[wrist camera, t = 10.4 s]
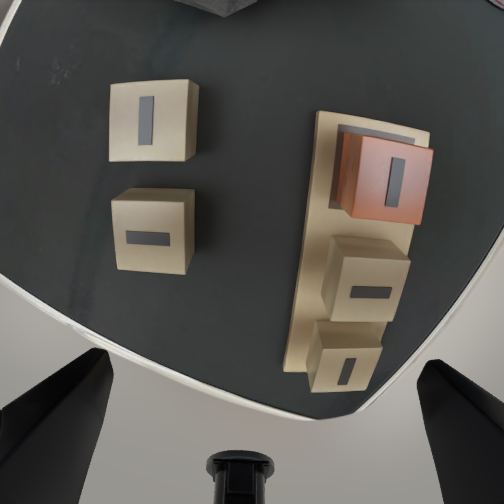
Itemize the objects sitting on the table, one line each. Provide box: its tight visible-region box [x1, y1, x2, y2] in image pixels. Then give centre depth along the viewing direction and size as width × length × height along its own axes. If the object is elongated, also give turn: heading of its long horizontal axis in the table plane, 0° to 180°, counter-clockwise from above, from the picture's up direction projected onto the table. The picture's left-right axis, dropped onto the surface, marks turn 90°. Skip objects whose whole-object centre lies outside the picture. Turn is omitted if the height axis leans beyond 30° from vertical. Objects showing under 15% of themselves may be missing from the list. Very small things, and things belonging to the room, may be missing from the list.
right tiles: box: [306, 236, 411, 392], centre depth 19 cm, size 10×4×3 cm, turn 176°
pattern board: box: [283, 111, 430, 372], centre depth 19 cm, size 18×7×1 cm, turn 176°
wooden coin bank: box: [336, 132, 434, 225], centre depth 15 cm, size 4×4×3 cm
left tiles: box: [109, 79, 199, 274], centre depth 16 cm, size 10×4×3 cm, turn 176°
